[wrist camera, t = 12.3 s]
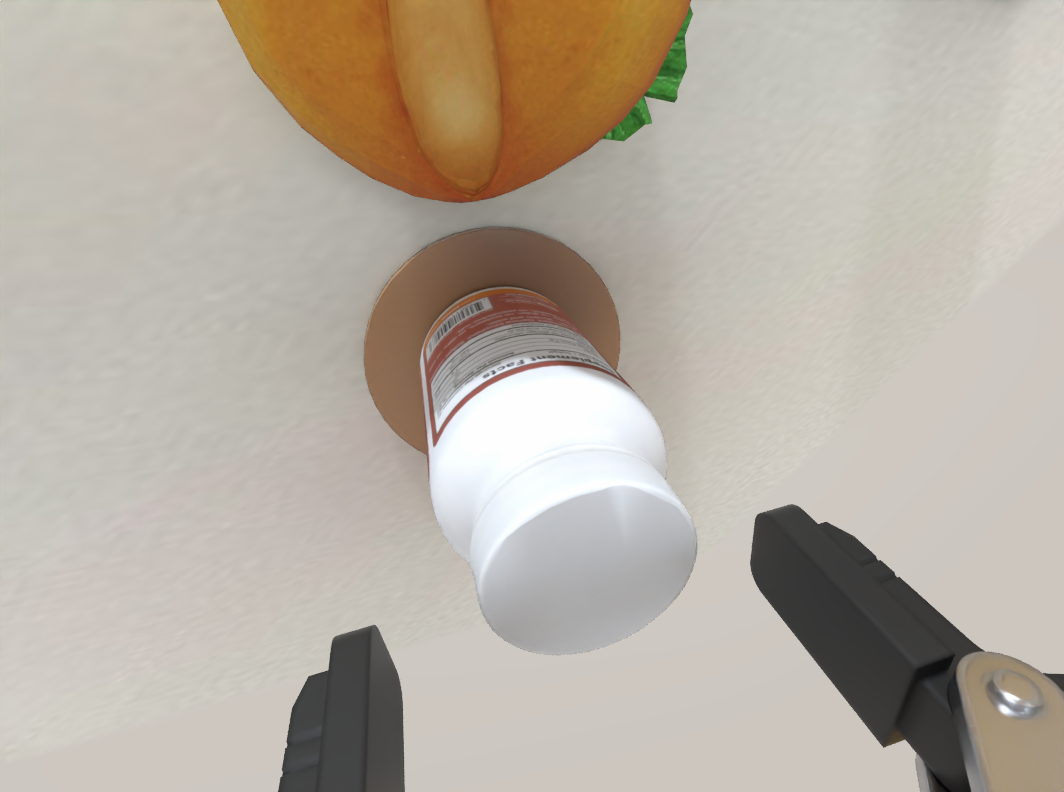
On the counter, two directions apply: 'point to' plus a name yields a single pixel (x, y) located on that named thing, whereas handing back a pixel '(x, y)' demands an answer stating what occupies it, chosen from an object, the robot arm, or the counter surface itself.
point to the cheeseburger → (464, 81)
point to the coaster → (456, 274)
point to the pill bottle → (548, 476)
